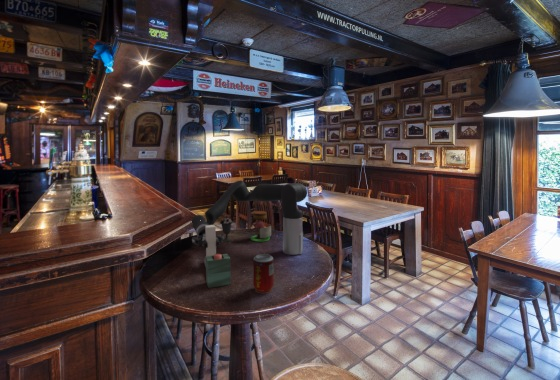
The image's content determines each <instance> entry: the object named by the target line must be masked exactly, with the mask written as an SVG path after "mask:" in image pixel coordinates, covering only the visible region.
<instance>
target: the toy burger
mask: <svg viewBox="0 0 560 380" xmlns="http://www.w3.org/2000/svg"><path fill="white" fill-rule="evenodd" d="M267 213H268V212H267V211H264V210H255V211H254V212H253V213H252V214H253V215H252V216H253V217H252V219H253V220H257V221H256V222H255V223H254V224H253V227H254V230H256V232H255V235H252V236H250V241H252V242H257V243H259V242H260V243H261V242H262V243H263V242H267V241H269V240H271V239H270V237H271V236H272V224H270V223H268V224H269V225H268V226H265V224H264V222H263V220H267V219H268V217H267V216H268V215H267Z"/></svg>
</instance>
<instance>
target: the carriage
mask: <svg viewBox="0 0 560 380" xmlns="http://www.w3.org/2000/svg"><path fill="white" fill-rule="evenodd" d="M205 231H206V241H207V243H208V248H206V247H205V255H206V256H213V255H215V254H217V247H216V231H217V230H216V226H215V224H213V225H206V226H205ZM206 256H204V257H203V261H204V267H205V268H206Z"/></svg>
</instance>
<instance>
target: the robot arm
mask: <svg viewBox="0 0 560 380" xmlns="http://www.w3.org/2000/svg"><path fill="white" fill-rule="evenodd" d="M231 197H233V198H234V199H235V201H236V202H237V203H238V202H240V203H241V202H242V203H243V202H274V201H275V202H277V201H280V202H281V203H280V204H281V212H282V253H283V254H285V255H290V256H292V255H293V256H295V255H302V253H303V251H304V249H303V248H304V247H303V246H304V231H303V220H304V219H303V215H304V214H303V211H302V210H301V209H298V208H297V203H300V202H302V201H303V200H305V199H306V197H308V190H307V188H306V186H305V185H304V184H302V183H300V182H293V183H286V184H276V183H259V184H257V185H256V186H254V188H253V190H251V191H249V188H248V187H247V185H246V183H245V182H244V180H241V179H239V180H236V181H234V182H232V183H231V184H230V186H229V187H228V188H227V189H226V190H225V191H224V192H223V193H222V194H221V196H220V197H219V198H218V200H217V201H216V202H215V203H213V204H212V205H211V206H210V207H209V208H208V209H207V210H206V211H205V213H204V215H202V214H197V215H195V216H193V217H192V218H191V219H190V222H191V221H192V223H193V227H192V228H193V229H194V231H195V234H196V236H192V238H191V243H192V244H194V245H195V246H199V247H200V246H202V247H204V248H205V249H206V248H208V243H207V241H206V231H205V226H206V225H215V223H216V222H217V220H218V219H219V218H221V216H223V214H224V213H226V210H227V207H228V205H229V201H230V199H231ZM204 216H205V217H204ZM200 220H201V221H200ZM224 236H225V235H224V233H220V234H219V235H218V234H216V248H218V247H219V246H220V244H222V243H223V242H224V241H223V240H224V239H225V237H224Z"/></svg>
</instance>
